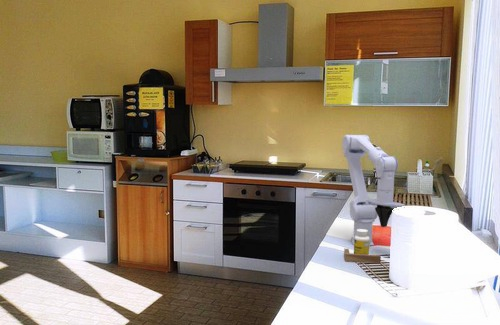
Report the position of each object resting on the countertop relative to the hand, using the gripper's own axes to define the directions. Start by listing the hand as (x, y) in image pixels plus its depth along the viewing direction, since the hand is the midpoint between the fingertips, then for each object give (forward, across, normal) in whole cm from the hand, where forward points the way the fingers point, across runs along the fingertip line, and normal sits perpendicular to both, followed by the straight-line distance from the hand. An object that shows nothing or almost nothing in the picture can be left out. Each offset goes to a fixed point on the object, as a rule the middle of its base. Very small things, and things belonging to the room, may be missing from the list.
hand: (383, 226), depth 177 cm
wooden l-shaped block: (+10, +2, +11) cm, 15 cm away
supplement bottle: (+11, +4, +9) cm, 14 cm away
